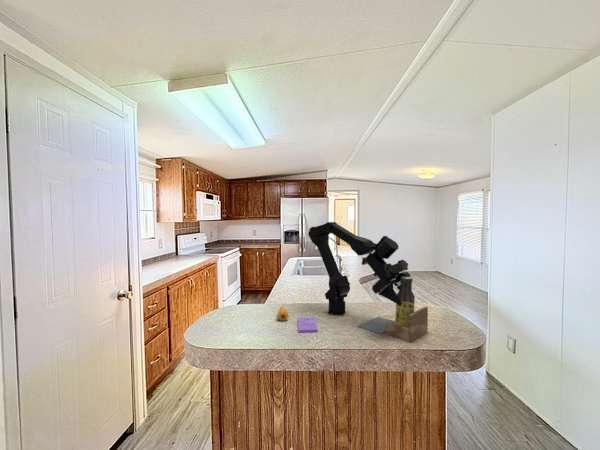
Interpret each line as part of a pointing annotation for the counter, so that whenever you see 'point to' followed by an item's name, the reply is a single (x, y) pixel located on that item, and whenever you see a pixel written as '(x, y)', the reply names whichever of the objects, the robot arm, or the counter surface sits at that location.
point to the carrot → (282, 314)
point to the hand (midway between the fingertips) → (407, 301)
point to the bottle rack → (410, 326)
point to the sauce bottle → (405, 302)
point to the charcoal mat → (376, 325)
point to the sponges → (307, 325)
